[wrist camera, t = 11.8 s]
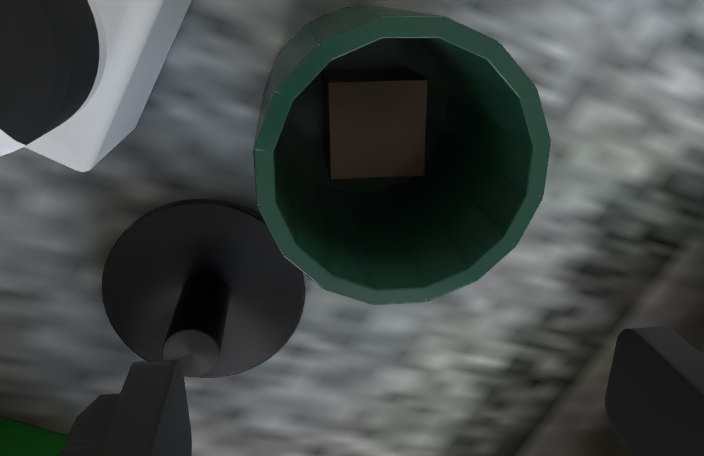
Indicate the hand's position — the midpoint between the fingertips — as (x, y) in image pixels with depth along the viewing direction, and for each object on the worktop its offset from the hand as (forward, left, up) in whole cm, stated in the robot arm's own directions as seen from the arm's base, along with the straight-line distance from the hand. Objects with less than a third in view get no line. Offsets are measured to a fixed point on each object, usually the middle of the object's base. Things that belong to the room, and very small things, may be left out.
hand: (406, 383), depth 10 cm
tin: (+2, +1, -19) cm, 19 cm away
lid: (-6, -8, -18) cm, 21 cm away
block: (+2, +1, -18) cm, 18 cm away
